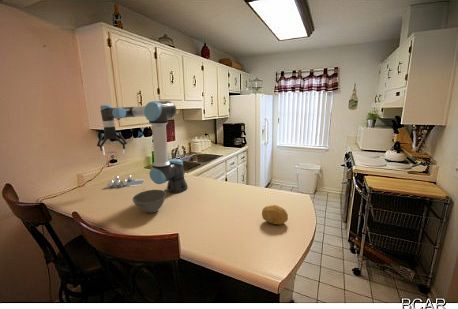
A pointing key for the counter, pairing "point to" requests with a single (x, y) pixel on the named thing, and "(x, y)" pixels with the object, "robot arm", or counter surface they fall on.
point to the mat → (129, 183)
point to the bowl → (149, 200)
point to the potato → (274, 214)
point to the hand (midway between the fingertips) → (113, 154)
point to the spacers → (119, 181)
